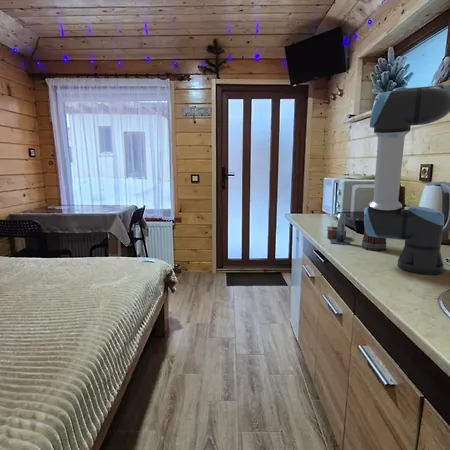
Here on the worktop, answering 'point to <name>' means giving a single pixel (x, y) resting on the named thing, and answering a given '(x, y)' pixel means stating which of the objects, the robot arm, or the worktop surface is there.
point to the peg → (341, 227)
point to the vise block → (333, 233)
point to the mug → (373, 243)
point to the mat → (346, 242)
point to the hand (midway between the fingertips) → (393, 168)
